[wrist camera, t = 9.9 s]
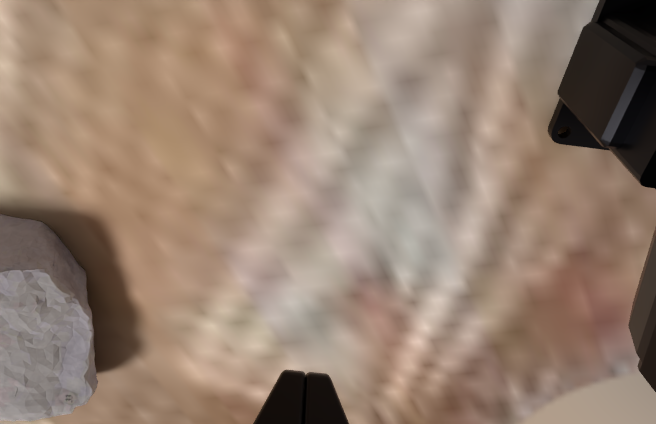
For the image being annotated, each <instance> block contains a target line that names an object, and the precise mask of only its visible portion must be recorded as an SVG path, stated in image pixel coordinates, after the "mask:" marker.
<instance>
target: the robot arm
mask: <svg viewBox="0 0 656 424" xmlns="http://www.w3.org/2000/svg"><path fill="white" fill-rule="evenodd" d="M558 95H559V97H560V99H559V102H558V104H557V107H556V109H555V112H554V114H553V116H552V119H551V121H550V124H549V126H548V134H549V136H550V137H551V138H552V140H553V141H554V142H556V143H558V144H564V145H572V146H580V147H588V148H596V149H604V150H611V152H612V153H613V154H614V155H615V156H616V157H617V158H618V159H619V161H620V162H621V163H622V164H623V165H624V166H625V167H626V168H627V169H628V171H629V172H630V173H631V174H632V175H633V176H634V177H635V178H636V180H637V181H638V182H639V183H640V184H641V185H642V186H645V187H650V188H655V189H656V0H600V1H599V3H598V5H597V8H596V10H595V13H594V15H593V18H592V20H591V22H590V23H588V24H587V25H586V26H584V27H583V29H582V32H581V34H580V37H579V39H578V42H577V44H576V47H575V49H574V52H573V54H572V57H571V59H570V62H569V64H568V67H567V69H566V72H565V74H564V77H563V79H562V82H561V84H560V87H559V89H558ZM564 126H568V128H567V130H566V131H565V132H563V133H561V134H558V131H559V129H560V128H562V127H564ZM628 326H629V329H630V332H631V336H632V339H633V343H634V346H635V350H636V353H637V355H638V356H639V358H640V360H639V363H638V368H639V371H640V372H641V374H642V375H643V376H644V378H645V379H646V380H647V382H648V383H649V384H650V385H651V387H652V388H653V389H654V391H655V392H656V228H655V231H654V234H653V238H652V241H651V244H650V248H649V251H648V255H647V258H646V261H645V265H644V268H643V271H642V275H641V278H640V281H639V285H638V288H637V291H636V295H635V298H634V301H633V306H632V311H631V316H630V320H629V325H628ZM253 424H349V423H348V420H347V418H346V415H345V413H344V410H343V408H342V405H341V403H340V400H339V398H338V395H337V393H336V390H335V388H334V385H333V383H332V380H331V378H330V377H329V375H327V374H324V373H314V372H309V373H307V374H306V375H305V373H304V372H302V371H294V370H284V371H283V372H282V373H281V375H280V376H279V378H278V380H277V382H276V384H275V385H274V387H273V389H272V391H271V393H270V394H269V396H268V398H267V400H266V402H265V403H264V405H263V407H262V409H261V411H260V412H259V414H258V416H257V418H256V420H255V421H254V423H253Z"/></svg>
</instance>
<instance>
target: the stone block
mask: <svg viewBox="0 0 656 424" xmlns="http://www.w3.org/2000/svg"><path fill="white" fill-rule="evenodd" d="M86 282H87V277H86V273H85V270H84V269H83V268H82V267H81V266H80V265H79V264H78V263H77V261H76V260H75V259H74V257H73V255H72V254H71V253H70V251H69V250H68V249H67V247H66V246H65V245H64V244H63V243H62V241H61V240H60V238H59V237H58V236H57V235H56V234H55V233H54V232H53V231H52V230H51V229H50V228H49V227H48V226H47V225H45V224H44V223H43V222H40V221H35V220H32V219H21V218H16V217H11V216H7V215H3V214H0V420H7V421H16V420H21V421H34V420H38V419H44V418H49V417H54V416H58V415H65V414H70V413H72V412H73V411H74V409H75V407H76V406H81V405H85V404H86V403H87V402H88V400H89V399H90V397H91V396H92V395H93V393H94V392H95V389H96V388H97V384H98V381H97V376H96V368H95V361H94V358H95V349H94V341H93V336H94V329H93V325H92V311H91V309H90V307H89V305H88V298H87V290H86Z"/></svg>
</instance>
